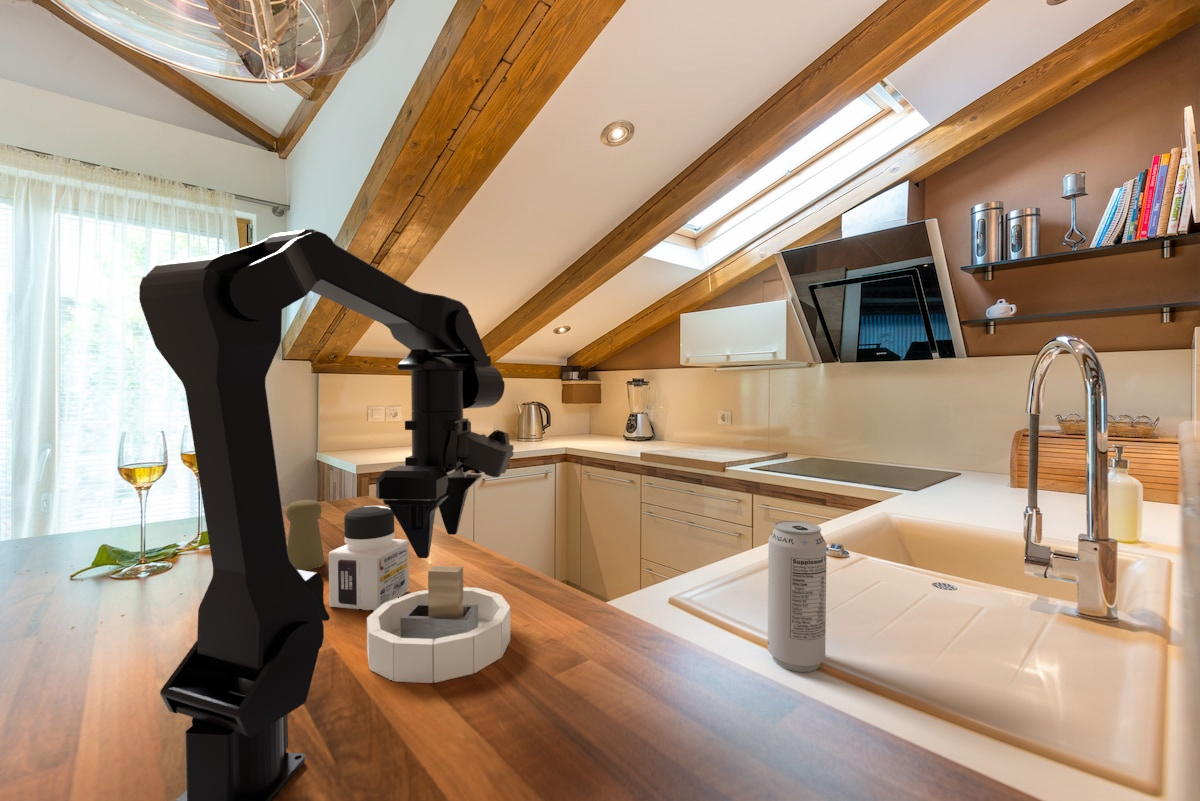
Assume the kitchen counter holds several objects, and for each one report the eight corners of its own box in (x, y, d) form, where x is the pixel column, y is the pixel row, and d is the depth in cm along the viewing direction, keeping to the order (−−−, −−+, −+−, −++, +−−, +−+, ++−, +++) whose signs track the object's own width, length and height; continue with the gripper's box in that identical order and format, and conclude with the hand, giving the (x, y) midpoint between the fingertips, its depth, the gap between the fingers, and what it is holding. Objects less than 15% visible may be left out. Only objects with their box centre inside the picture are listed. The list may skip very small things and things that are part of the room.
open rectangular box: (469, 650, 61) (469, 621, 61) (396, 648, 61) (395, 619, 61) (481, 630, 66) (481, 603, 66) (414, 628, 66) (414, 601, 66)
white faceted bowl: (487, 685, 55) (487, 646, 55) (339, 679, 56) (339, 641, 56) (520, 619, 71) (520, 588, 71) (404, 615, 72) (403, 585, 72)
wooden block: (457, 641, 62) (457, 572, 62) (428, 639, 63) (428, 570, 63) (463, 634, 64) (463, 566, 64) (435, 632, 65) (434, 565, 64)
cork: (286, 562, 93) (285, 499, 93) (325, 558, 96) (324, 496, 95) (282, 573, 88) (281, 506, 87) (324, 568, 90) (323, 502, 90)
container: (378, 612, 73) (377, 516, 73) (328, 607, 75) (326, 513, 74) (409, 591, 81) (409, 503, 80) (363, 587, 82) (362, 501, 82)
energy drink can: (802, 644, 64) (804, 518, 64) (837, 670, 58) (839, 531, 58) (757, 650, 62) (758, 521, 62) (788, 678, 57) (789, 535, 56)
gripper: (483, 416, 53) (484, 575, 53) (523, 407, 71) (524, 525, 72) (372, 415, 54) (374, 572, 54) (440, 407, 72) (441, 524, 73)
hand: (438, 545), depth 63 cm, fingers open, 9 cm apart
